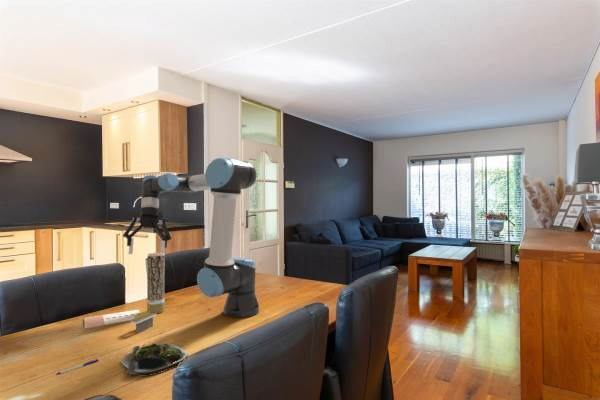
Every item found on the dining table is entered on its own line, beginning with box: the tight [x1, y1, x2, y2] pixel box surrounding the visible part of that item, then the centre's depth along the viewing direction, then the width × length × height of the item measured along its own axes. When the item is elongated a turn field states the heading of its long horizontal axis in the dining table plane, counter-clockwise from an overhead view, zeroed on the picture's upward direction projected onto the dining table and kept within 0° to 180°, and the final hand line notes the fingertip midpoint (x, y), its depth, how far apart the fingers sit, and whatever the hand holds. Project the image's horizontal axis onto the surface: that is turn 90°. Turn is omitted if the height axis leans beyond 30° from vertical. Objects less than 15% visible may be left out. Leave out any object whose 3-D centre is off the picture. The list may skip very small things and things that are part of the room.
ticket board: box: [83, 309, 141, 329], centre depth 137 cm, size 12×20×1 cm, turn 123°
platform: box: [130, 310, 158, 335], centre depth 126 cm, size 12×18×7 cm, turn 160°
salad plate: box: [121, 343, 188, 376], centre depth 102 cm, size 19×18×5 cm
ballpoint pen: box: [56, 359, 100, 376], centre depth 97 cm, size 10×1×1 cm, turn 143°
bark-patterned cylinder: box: [146, 252, 166, 314], centre depth 146 cm, size 7×7×25 cm
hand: (146, 254), depth 149 cm, fingers open, 13 cm apart
